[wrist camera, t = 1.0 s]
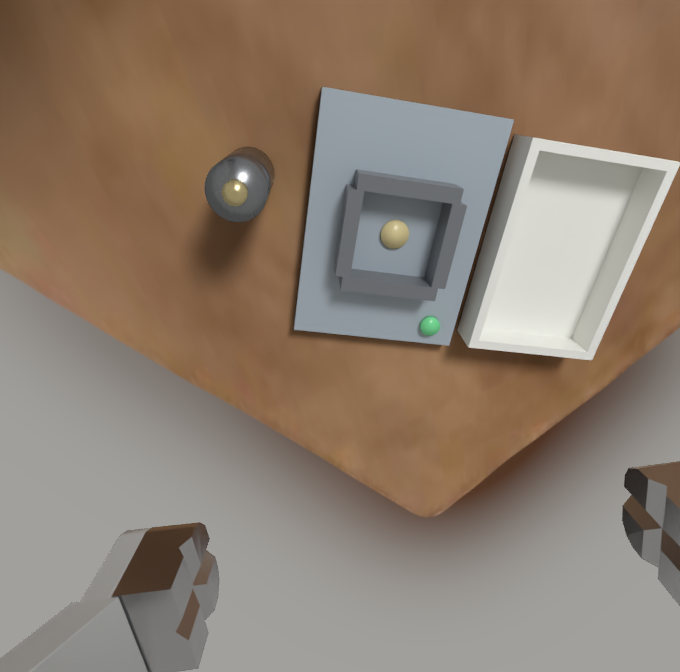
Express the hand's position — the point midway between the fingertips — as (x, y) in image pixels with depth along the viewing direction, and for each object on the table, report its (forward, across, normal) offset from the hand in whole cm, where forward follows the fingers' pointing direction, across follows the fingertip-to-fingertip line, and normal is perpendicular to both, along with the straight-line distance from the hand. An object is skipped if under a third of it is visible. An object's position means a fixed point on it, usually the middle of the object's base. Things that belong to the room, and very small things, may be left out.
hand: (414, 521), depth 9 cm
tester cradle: (+34, -4, -1) cm, 34 cm away
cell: (+33, +7, -8) cm, 34 cm away
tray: (+35, -18, +3) cm, 40 cm away
